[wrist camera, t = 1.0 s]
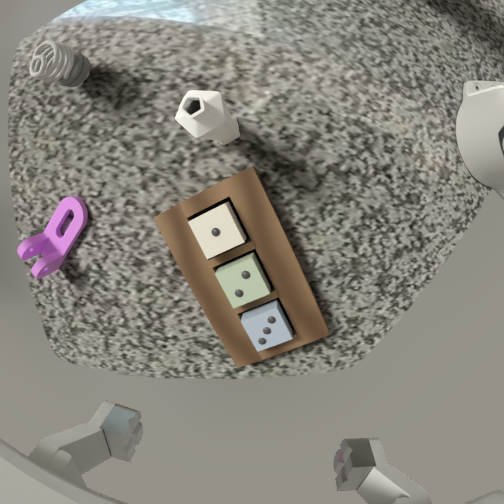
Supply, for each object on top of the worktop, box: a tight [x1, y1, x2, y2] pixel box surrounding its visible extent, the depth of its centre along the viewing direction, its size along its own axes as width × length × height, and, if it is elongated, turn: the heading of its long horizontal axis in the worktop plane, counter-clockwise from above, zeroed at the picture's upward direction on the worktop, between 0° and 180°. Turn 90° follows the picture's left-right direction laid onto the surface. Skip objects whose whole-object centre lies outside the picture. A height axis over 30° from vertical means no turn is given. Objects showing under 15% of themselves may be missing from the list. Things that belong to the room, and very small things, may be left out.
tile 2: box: [215, 252, 271, 309], centre depth 38 cm, size 5×5×3 cm
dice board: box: [154, 166, 330, 368], centre depth 39 cm, size 14×24×2 cm, turn 26°
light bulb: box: [30, 40, 90, 87], centre depth 29 cm, size 6×6×12 cm
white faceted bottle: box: [175, 90, 240, 145], centre depth 29 cm, size 5×4×15 cm
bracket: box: [17, 196, 88, 279], centre depth 38 cm, size 13×6×7 cm, turn 135°
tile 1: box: [188, 201, 247, 259], centre depth 36 cm, size 5×5×3 cm
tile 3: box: [241, 300, 293, 352], centre depth 39 cm, size 5×5×3 cm
